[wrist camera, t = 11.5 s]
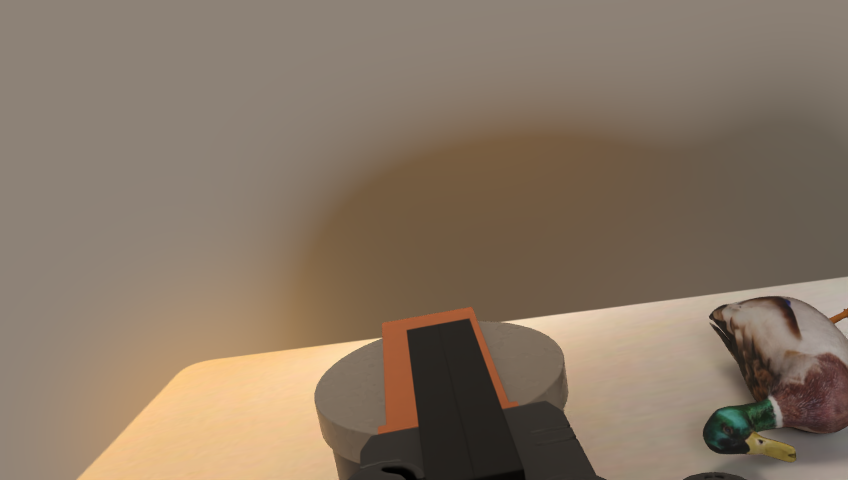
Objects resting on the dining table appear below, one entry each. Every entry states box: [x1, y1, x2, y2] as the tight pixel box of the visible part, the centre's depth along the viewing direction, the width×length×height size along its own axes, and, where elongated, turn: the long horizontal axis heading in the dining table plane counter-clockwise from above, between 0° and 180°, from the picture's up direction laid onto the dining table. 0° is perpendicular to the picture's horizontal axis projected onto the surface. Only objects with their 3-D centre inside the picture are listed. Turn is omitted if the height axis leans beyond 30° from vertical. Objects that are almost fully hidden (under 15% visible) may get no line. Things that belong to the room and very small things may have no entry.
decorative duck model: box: [703, 296, 848, 462], centre depth 49 cm, size 15×8×15 cm
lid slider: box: [378, 307, 519, 434], centre depth 32 cm, size 11×5×5 cm, turn 4°
